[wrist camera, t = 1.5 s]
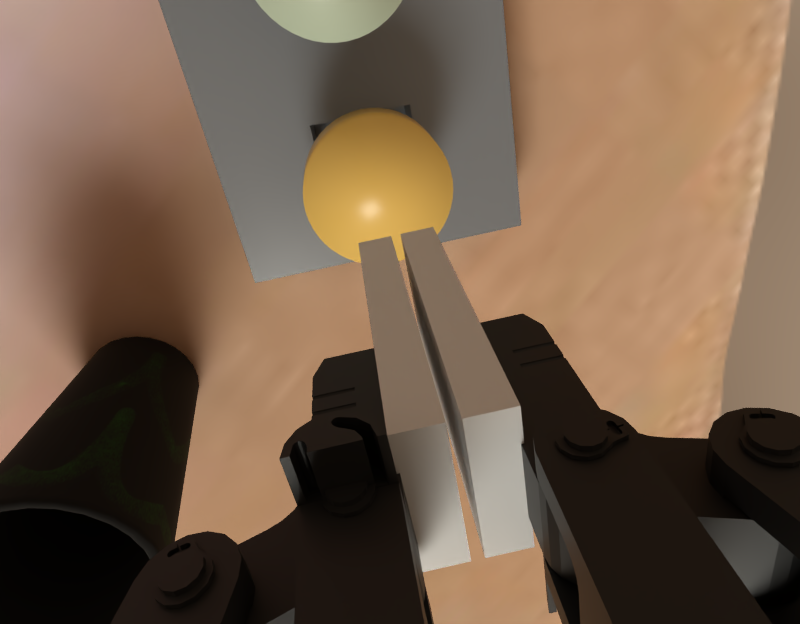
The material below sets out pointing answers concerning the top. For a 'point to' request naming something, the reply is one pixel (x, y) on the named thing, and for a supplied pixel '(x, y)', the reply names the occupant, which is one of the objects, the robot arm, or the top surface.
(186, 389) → the cup
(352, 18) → the button sage
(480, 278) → the top surface
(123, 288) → the top surface
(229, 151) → the panel
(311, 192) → the button amber
